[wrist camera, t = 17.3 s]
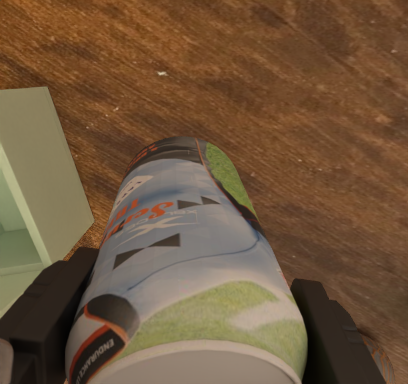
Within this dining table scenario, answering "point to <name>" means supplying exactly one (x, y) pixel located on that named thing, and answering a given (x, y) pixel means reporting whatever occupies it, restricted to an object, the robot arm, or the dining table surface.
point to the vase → (380, 359)
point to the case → (37, 184)
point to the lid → (14, 288)
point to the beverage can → (185, 282)
